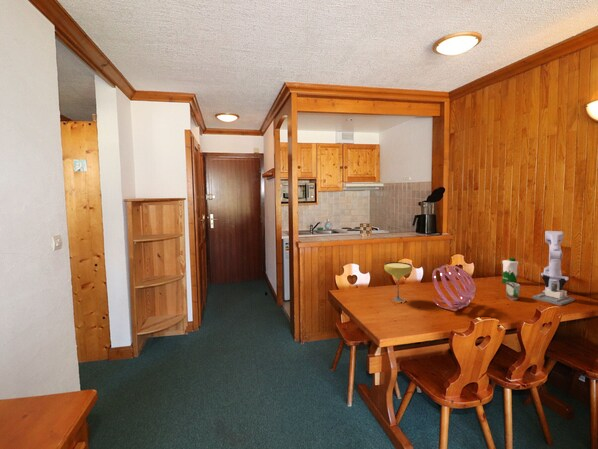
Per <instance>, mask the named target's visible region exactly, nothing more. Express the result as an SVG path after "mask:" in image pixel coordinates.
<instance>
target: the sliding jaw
mask: <svg viewBox="0 0 598 449" xmlns="http://www.w3.org/2000/svg"><path fill="white" fill-rule="evenodd" d="M544 293H545V295H546V296H550V297H555V298H559V299H560V298H563V292H559V291H557V284H555V283H552V284H551V290H550V289H548V290H546V291H545V292H544Z"/></svg>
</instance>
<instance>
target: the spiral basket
mask: <svg viewBox="0 0 598 449" xmlns="http://www.w3.org/2000/svg"><path fill="white" fill-rule="evenodd" d="M445 268H446V269H448V271H447V270H446V269H445ZM457 270H458V271H457ZM437 271H439V277H440V280H441V282H442V285H443V287H444V289H445V290H446V292H447V293H448V295H449V296H450V297H451V298H452V300H453V301H450V300H449V299H448V298H447V297H446V295H445V294H444V292H443V291H442V289H441V287H440V286H439V283H438V280H437V274H436V272H437ZM431 274H432V276H431V278H432V283H433V285H434V287H435V289H436V292H437V293H438V295H439V296H440V298H441V299H439V298H437V297H434V299H433V298H432V301H433V302H434V304H435V305H436V306H438V307H439V308H441V309H443V308H444V309H445V310H454V311H459V310H461V309H463V308H464V307H468V306H469V305H471V304H470V303H471V301H472V300H473V299H474V297H475V293H476V284H475V281H474V279H473V278H472V276H471V274H470V273H469V272H467V270H465V269H463V268H460V267H459V266H457V265H448V264H447V265H442V266H440V267H437V268H435V269H434V270H433V271H432V273H431ZM456 277H457V279H458V280H459V281H460V283H461V285H462V286H463V288H464V290H463V288H462V287H461V286H460V284H459V282H458V280H457V279H456ZM447 279H448V280H449V281H450V282H451V284H452V285H453V287H454V288H455V291H456V293H457V295H458V296H457V295H456V294H455V293H454V291H453V290H452V289H451V287H450V285H449V283H448V281H447ZM436 300H437V301H439V302H441V303H444V304H446V305H447V306H449V307H445V306H443V305H440V304H439V303H438V302H437V301H436Z"/></svg>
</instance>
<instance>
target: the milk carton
mask: <svg viewBox="0 0 598 449" xmlns="http://www.w3.org/2000/svg"><path fill="white" fill-rule="evenodd" d="M501 261H502V262H501V263H502V278H501V279H502V281H501V283H503V284H506V282H513V283H517V284H518V278H517V276H518V265H519V261H518V260H516V257H509V259H504V260H501Z"/></svg>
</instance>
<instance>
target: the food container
mask: <svg viewBox="0 0 598 449" xmlns="http://www.w3.org/2000/svg"><path fill="white" fill-rule="evenodd" d="M505 289H506V292H505V293H506V294H505V295H506V297H507V298H508V299H509V300H511V301H513V302H514V301H518V300H519V298H520V290H521V284H519V283H518V282H517V283H513V282H506V283H505Z"/></svg>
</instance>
